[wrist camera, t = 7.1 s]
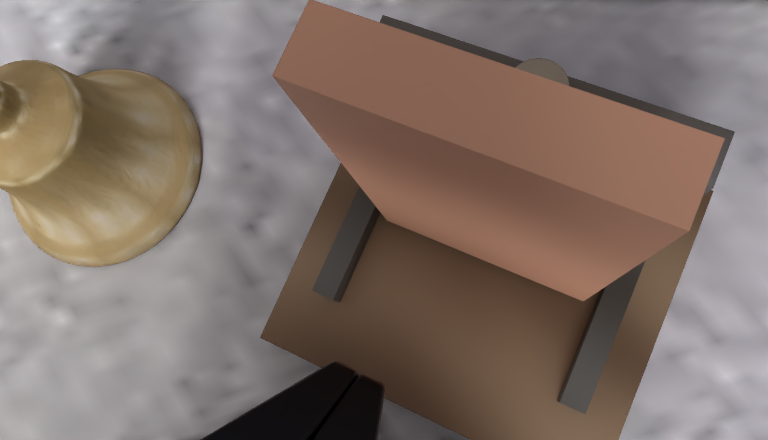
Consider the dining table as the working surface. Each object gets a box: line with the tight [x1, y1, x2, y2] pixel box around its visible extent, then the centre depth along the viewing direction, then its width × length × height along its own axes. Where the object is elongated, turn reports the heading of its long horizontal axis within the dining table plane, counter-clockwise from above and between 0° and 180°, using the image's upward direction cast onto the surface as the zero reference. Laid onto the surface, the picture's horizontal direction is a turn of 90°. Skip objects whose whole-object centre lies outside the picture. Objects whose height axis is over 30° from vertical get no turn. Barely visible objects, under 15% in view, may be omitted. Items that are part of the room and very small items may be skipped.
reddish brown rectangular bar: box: [272, 0, 725, 301], centre depth 16 cm, size 2×7×12 cm, turn 66°
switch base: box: [260, 15, 734, 440], centre depth 20 cm, size 10×12×7 cm
